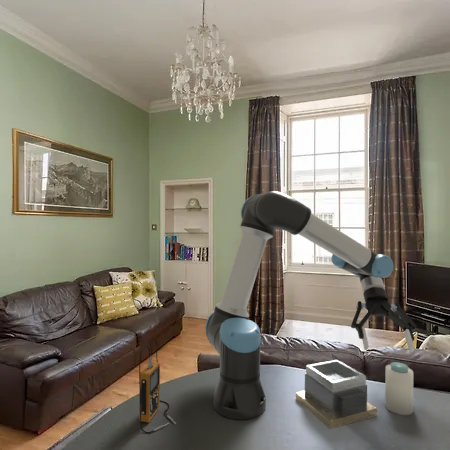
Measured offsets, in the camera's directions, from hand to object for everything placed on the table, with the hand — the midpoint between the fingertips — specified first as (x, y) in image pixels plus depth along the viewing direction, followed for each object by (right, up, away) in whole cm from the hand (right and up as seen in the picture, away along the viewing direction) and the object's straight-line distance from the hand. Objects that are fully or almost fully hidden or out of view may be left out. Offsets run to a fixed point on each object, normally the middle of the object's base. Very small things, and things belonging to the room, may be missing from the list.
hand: (389, 349), depth 101 cm
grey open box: (-20, -13, -9) cm, 26 cm away
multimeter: (-69, -13, -14) cm, 71 cm away
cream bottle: (-2, -13, -9) cm, 16 cm away
